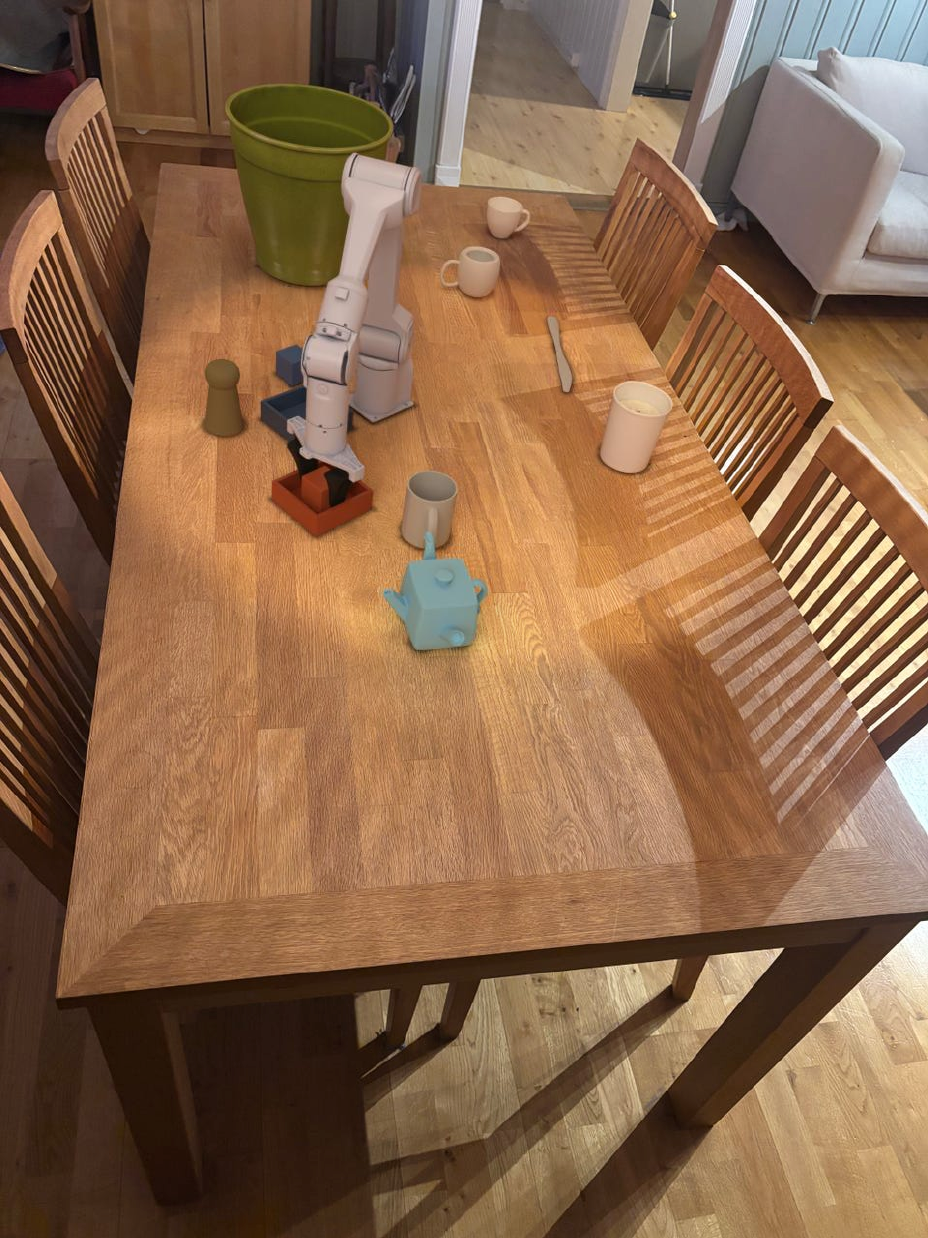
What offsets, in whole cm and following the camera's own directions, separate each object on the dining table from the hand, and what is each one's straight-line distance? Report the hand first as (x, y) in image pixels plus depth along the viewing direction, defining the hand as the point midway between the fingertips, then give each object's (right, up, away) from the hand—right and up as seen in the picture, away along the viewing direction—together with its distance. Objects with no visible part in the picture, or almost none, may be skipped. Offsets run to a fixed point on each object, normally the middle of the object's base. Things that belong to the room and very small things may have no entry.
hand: (322, 494), depth 143 cm
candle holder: (+48, +9, +21) cm, 53 cm away
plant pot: (-11, +52, +52) cm, 74 cm away
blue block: (-8, +23, +24) cm, 34 cm away
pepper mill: (-17, +12, +11) cm, 24 cm away
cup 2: (+30, +68, +76) cm, 106 cm away
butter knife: (+39, +32, +42) cm, 66 cm away
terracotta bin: (0, -1, +1) cm, 2 cm away
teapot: (+16, -20, -13) cm, 29 cm away
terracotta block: (0, -1, +1) cm, 1 cm away
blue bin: (-5, +13, +15) cm, 20 cm away
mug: (+21, +48, +54) cm, 76 cm away
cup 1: (+15, -7, -1) cm, 17 cm away
